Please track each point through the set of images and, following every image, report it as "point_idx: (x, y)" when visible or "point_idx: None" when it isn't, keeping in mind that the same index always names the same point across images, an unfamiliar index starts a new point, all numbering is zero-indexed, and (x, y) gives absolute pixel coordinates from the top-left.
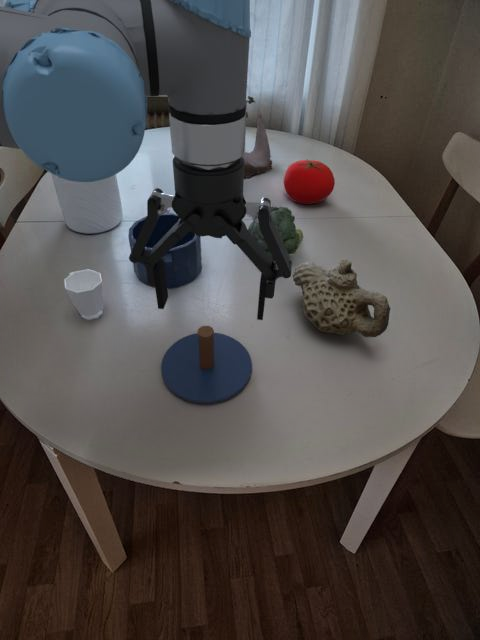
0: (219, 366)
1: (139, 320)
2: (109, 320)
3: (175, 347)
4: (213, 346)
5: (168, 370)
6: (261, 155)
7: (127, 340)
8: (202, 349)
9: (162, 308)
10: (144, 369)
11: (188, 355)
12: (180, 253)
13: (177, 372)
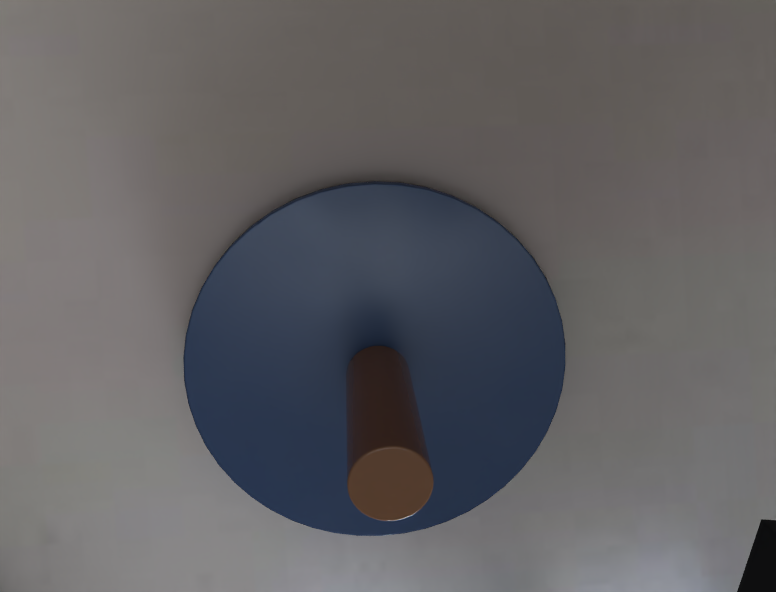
0: (323, 364)
1: (658, 577)
2: None
3: (512, 450)
4: (348, 423)
5: (534, 333)
6: None
7: (698, 480)
8: (400, 402)
9: (774, 524)
10: (625, 346)
11: (457, 413)
12: None
13: (497, 325)
